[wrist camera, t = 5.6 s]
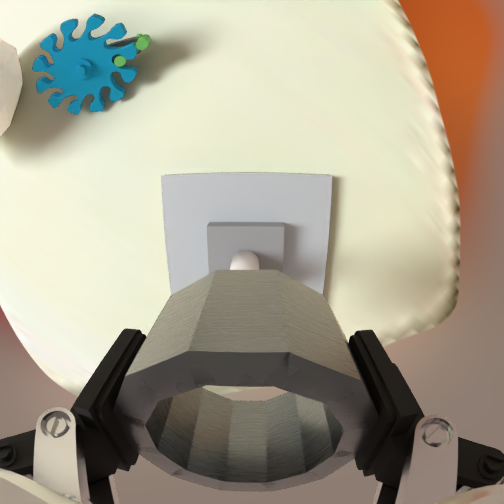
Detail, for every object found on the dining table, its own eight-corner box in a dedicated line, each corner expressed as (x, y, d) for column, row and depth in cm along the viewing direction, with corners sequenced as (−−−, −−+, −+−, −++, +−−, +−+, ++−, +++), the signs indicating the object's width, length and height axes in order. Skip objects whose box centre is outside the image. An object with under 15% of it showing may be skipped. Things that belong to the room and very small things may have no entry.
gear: (53, 130, 20) (14, 49, 11) (70, 98, 22) (43, 27, 13) (159, 99, 20) (138, -3, 12) (164, 71, 23) (150, -13, 14)
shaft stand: (164, 175, 23) (131, 183, 16) (329, 174, 23) (357, 182, 16) (177, 317, 27) (158, 361, 21) (316, 319, 27) (332, 364, 21)
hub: (141, 268, 9) (78, 336, 5) (353, 268, 9) (410, 340, 5) (173, 408, 11) (152, 480, 7) (326, 410, 11) (342, 484, 7)
